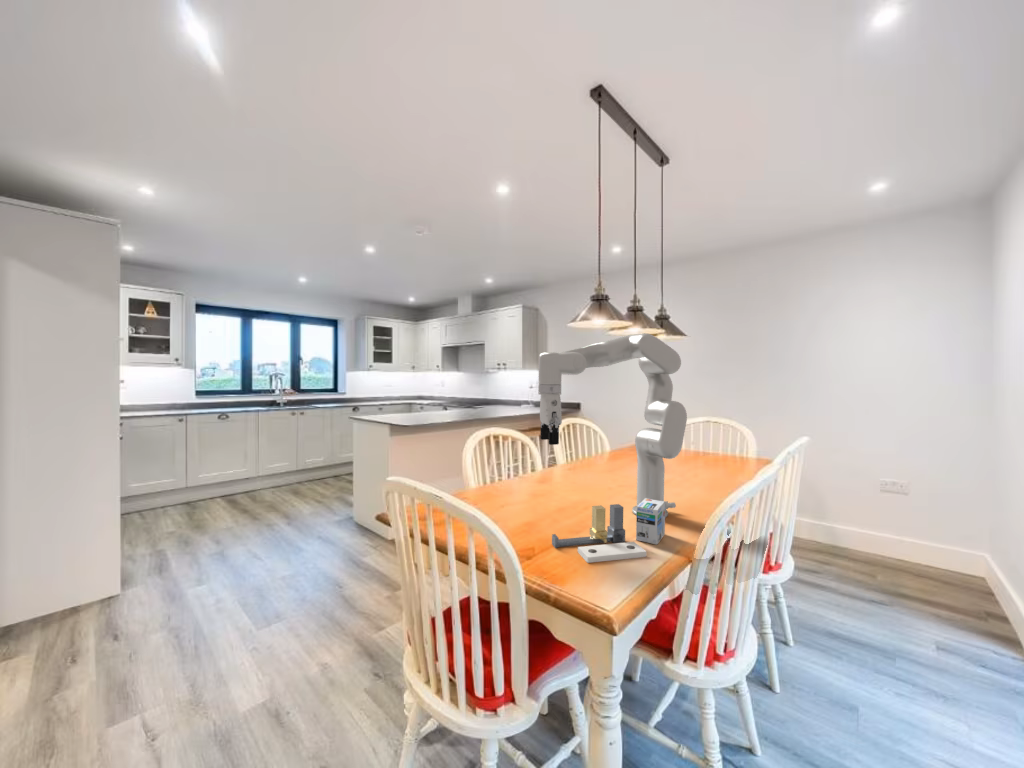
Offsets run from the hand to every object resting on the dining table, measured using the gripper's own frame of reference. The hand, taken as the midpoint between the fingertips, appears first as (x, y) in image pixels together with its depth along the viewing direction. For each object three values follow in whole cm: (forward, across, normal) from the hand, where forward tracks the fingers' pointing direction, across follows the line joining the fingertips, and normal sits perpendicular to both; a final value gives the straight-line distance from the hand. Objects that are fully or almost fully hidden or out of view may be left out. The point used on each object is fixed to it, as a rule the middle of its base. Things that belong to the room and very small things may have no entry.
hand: (549, 441), depth 140 cm
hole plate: (+29, -22, -12) cm, 39 cm away
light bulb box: (+29, -12, -30) cm, 44 cm away
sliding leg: (+27, -14, -12) cm, 33 cm away
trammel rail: (+29, -15, -9) cm, 34 cm away
